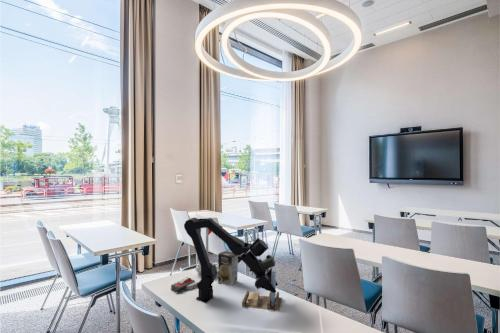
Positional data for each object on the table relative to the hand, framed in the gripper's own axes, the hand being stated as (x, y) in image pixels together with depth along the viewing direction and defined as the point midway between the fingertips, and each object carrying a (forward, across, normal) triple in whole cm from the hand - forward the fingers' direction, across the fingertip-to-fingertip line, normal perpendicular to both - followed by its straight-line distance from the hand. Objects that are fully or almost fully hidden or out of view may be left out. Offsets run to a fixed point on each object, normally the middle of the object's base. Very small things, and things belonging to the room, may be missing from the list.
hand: (276, 288), depth 126 cm
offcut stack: (-3, 0, +13) cm, 13 cm away
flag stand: (-25, +29, +36) cm, 53 cm away
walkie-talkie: (-28, +12, +40) cm, 50 cm away
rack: (+1, 0, +10) cm, 10 cm away
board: (+4, 0, +6) cm, 7 cm away
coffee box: (-14, +19, +25) cm, 35 cm away
